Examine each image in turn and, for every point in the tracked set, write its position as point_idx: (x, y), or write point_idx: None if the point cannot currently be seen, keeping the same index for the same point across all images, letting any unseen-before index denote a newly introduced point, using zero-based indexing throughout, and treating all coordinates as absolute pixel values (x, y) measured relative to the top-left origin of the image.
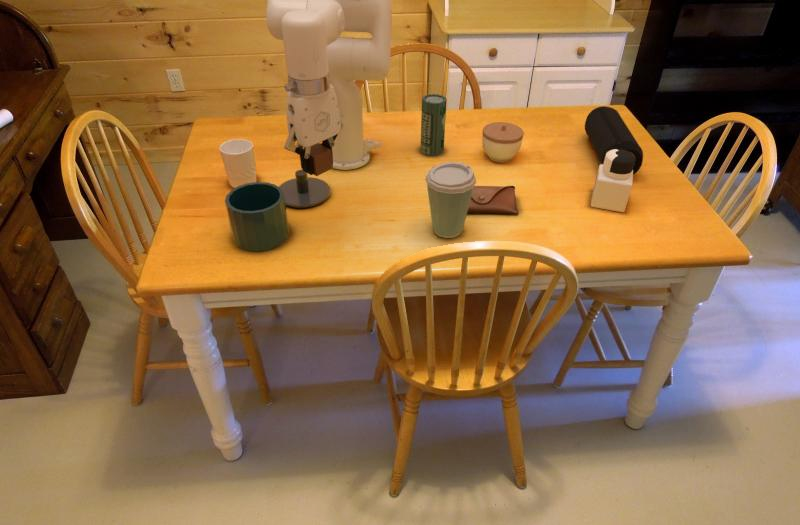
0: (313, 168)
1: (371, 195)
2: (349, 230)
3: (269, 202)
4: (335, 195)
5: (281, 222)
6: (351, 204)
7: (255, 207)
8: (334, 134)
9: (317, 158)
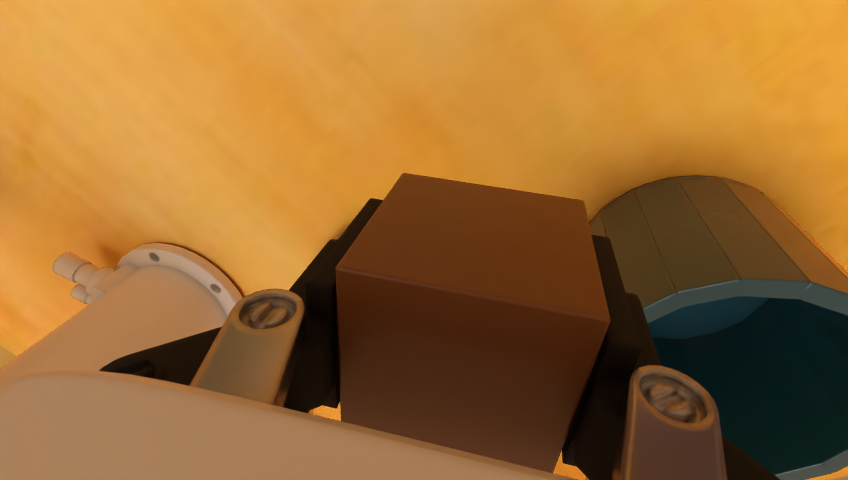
0: None
1: (241, 112)
2: (460, 13)
3: None
4: (333, 214)
5: (707, 219)
6: (330, 134)
7: None
8: (134, 394)
9: (566, 291)
